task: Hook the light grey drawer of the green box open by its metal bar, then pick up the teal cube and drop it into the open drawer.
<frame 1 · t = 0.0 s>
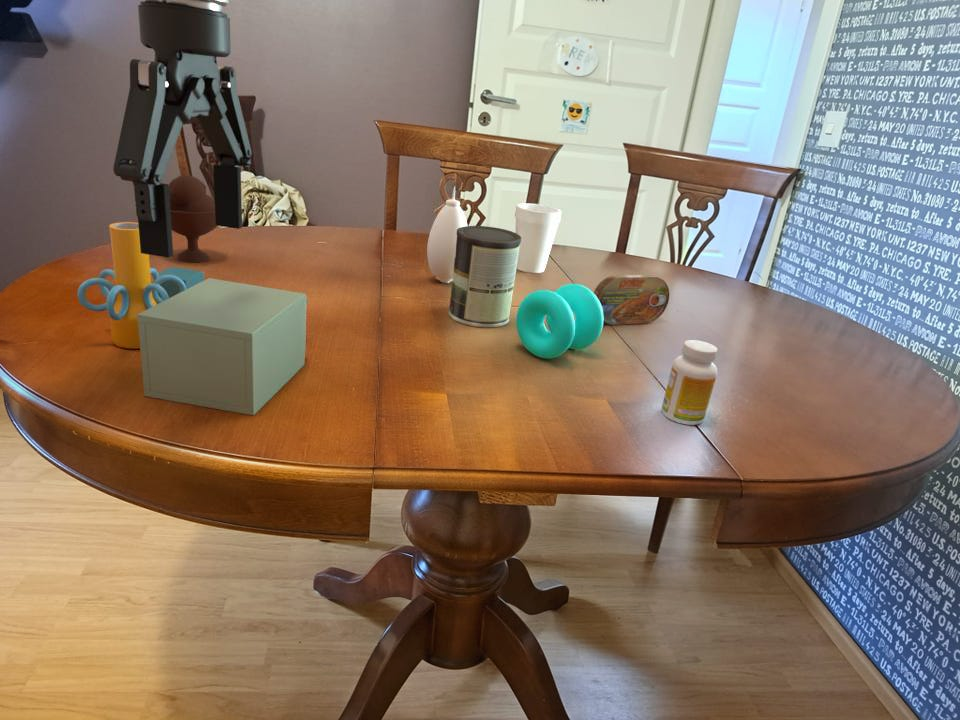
hand: (196, 239, 67), 18 cm above the table, tool pointing down, fingers open, 13 cm apart
cylinder: (138, 342, 86), on the table
donuts: (554, 352, 100), on the table
green box: (230, 379, 79), on the table
supplement bottle: (681, 417, 85), on the table
foam cup: (529, 269, 143), on the table
sauce bottle: (444, 282, 126), on the table
teal cube: (180, 305, 99), on the table
coffee can: (478, 318, 110), on the table
ice cream bowl: (193, 259, 121), on the table
tin: (625, 322, 117), on the table
light grey drawer: (250, 326, 82), point 5 cm above the table, slide at 0.5 cm
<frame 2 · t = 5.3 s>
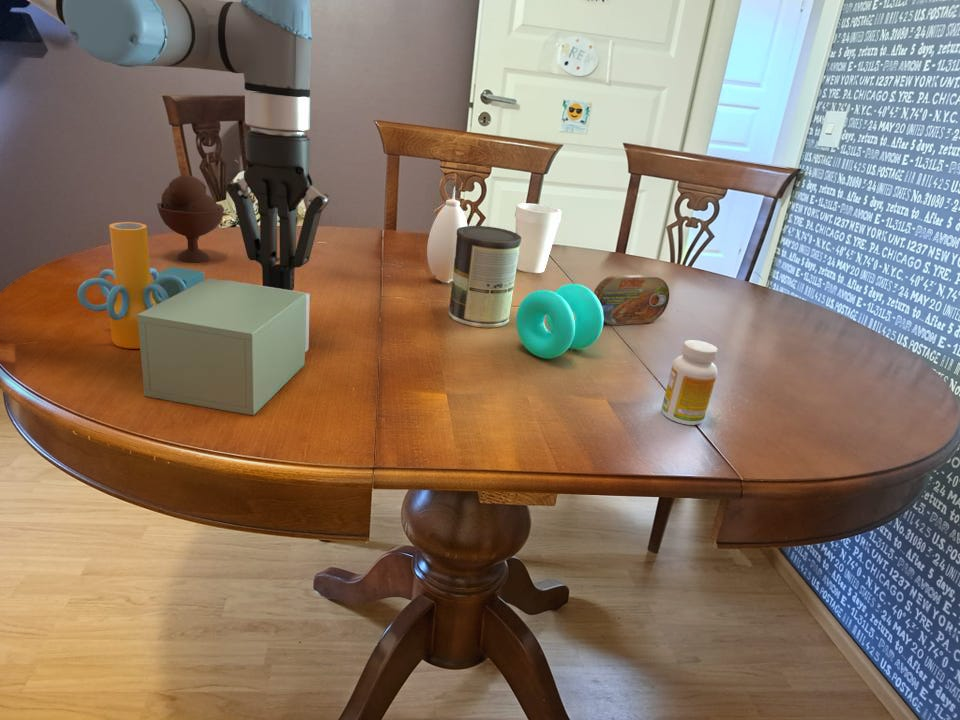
hand: (278, 313, 90), 4 cm above the table, tool pointing down, fingers closed
light grey drawer: (254, 324, 83), point 5 cm above the table, slide at 1.6 cm, touching gripper
everything else where it was.
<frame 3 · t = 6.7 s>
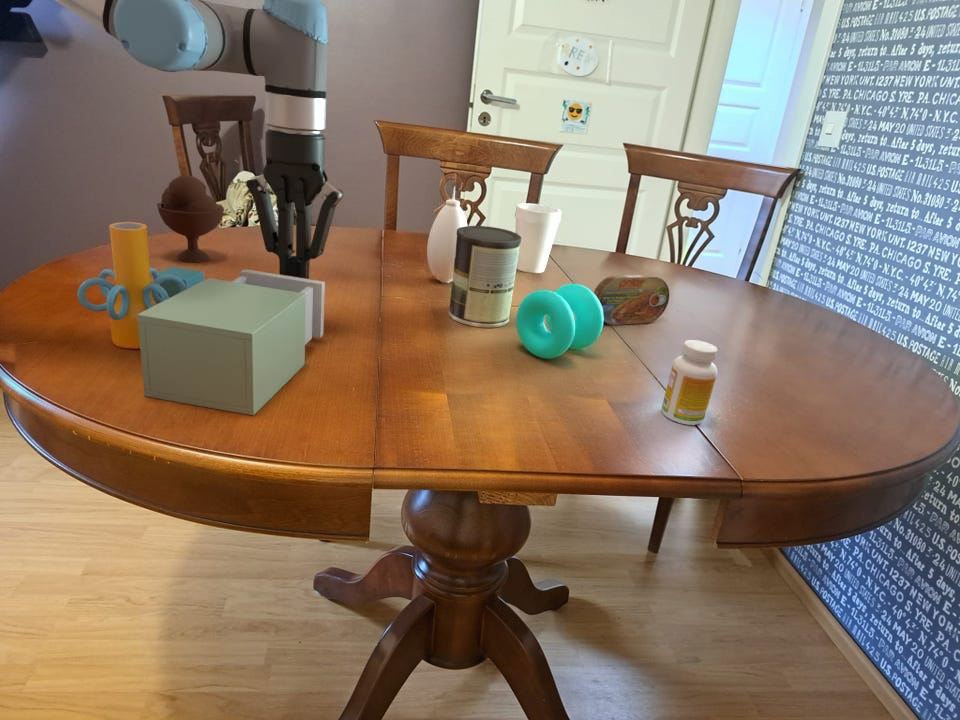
hand: (294, 302, 95), 4 cm above the table, tool pointing down, fingers closed
light grey drawer: (273, 310, 88), point 5 cm above the table, slide at 7.1 cm, touching gripper
everything else where it was.
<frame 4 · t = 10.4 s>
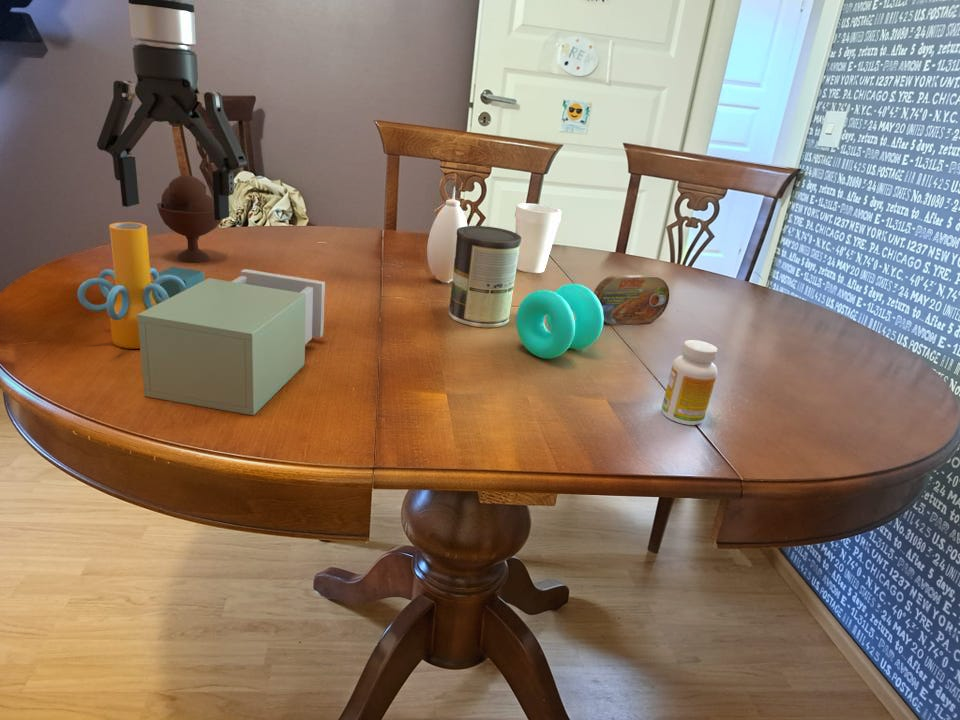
hand: (176, 211, 93), 14 cm above the table, tool pointing down, fingers open, 13 cm apart
light grey drawer: (273, 310, 88), point 5 cm above the table, slide at 7.2 cm
everything else where it was.
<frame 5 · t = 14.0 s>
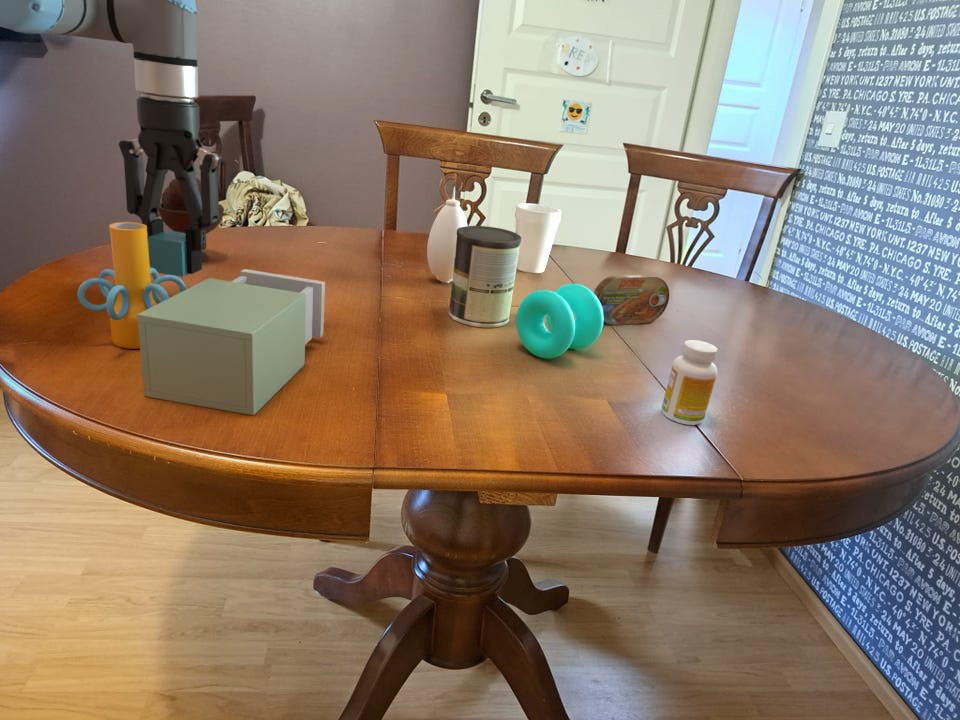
hand: (176, 267, 96), 6 cm above the table, tool pointing down, fingers closed on teal cube, 5 cm apart
teal cube: (176, 269, 97), point 5 cm above the table, touching gripper
everything else where it was.
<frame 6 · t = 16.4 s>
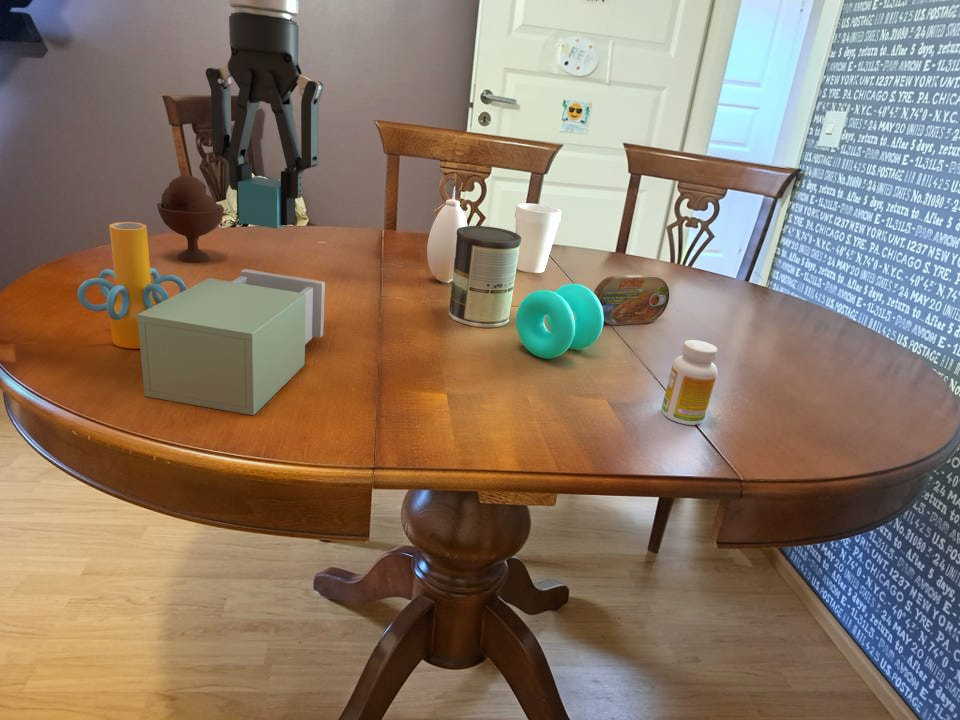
hand: (266, 219, 84), 17 cm above the table, tool pointing down, fingers closed on teal cube, 5 cm apart
teal cube: (266, 222, 84), point 16 cm above the table, touching gripper
everything else where it was.
when the fingers open (8 cm above the table, at t = 19.5 s): teal cube stays where it is, resting on light grey drawer.
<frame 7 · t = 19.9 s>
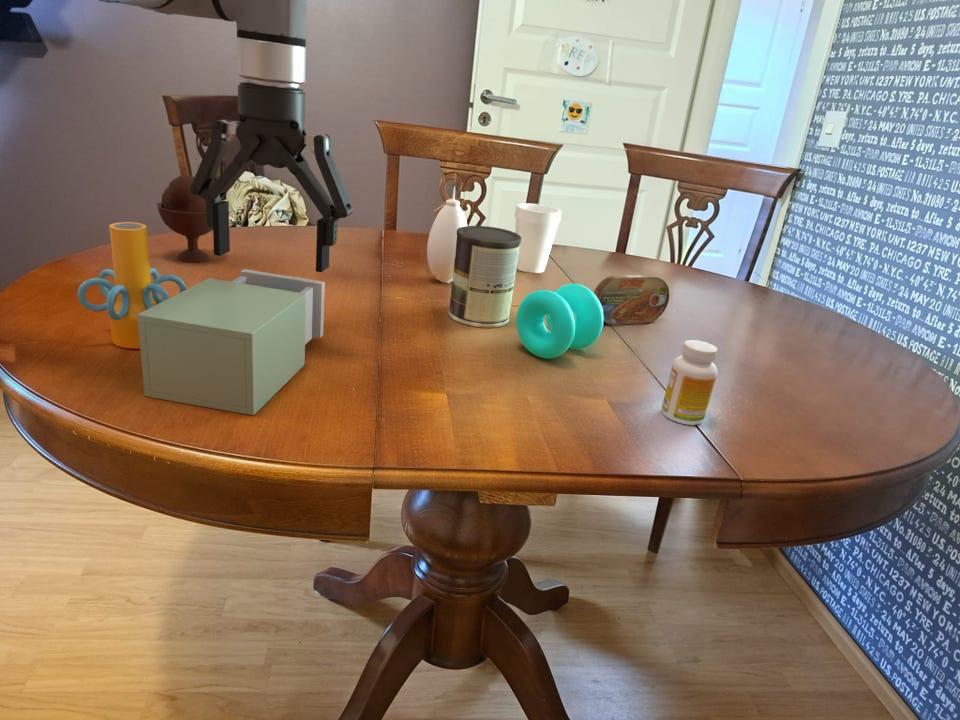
hand: (271, 261, 85), 12 cm above the table, tool pointing down, fingers open, 13 cm apart
teal cube: (272, 330, 89), point 2 cm above the table, touching light grey drawer
light grey drawer: (273, 310, 88), point 5 cm above the table, slide at 7.1 cm, touching teal cube
everything else where it was.
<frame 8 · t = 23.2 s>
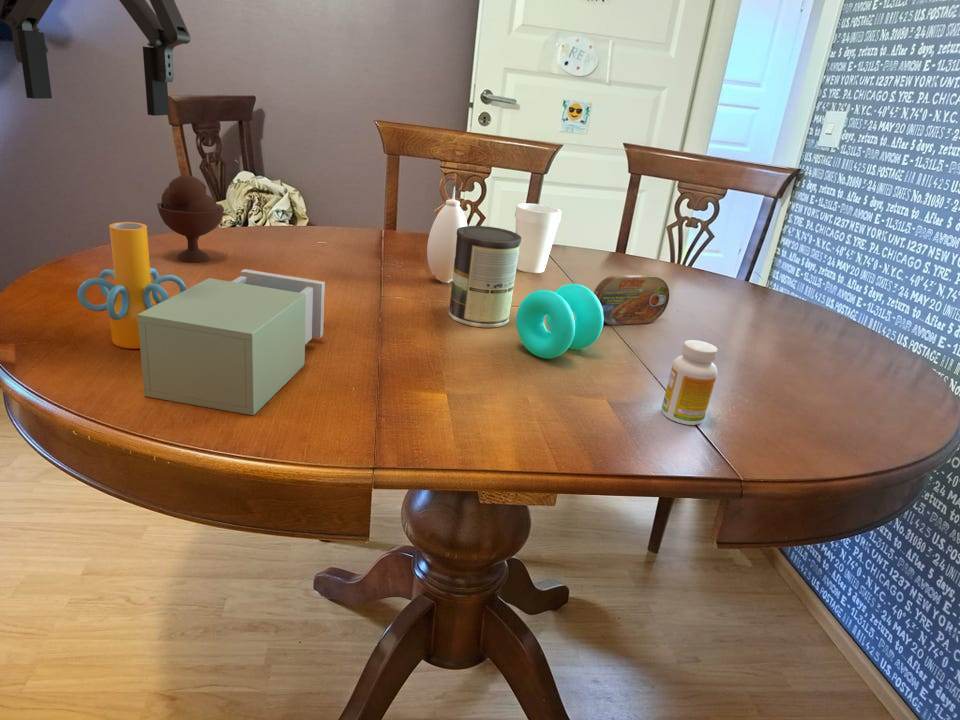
hand: (98, 106, 71), 29 cm above the table, tool pointing down, fingers open, 13 cm apart
nothing on the table moved.
at the end: light grey drawer slide at 7.1 cm; teal cube inside the target area in the light grey drawer (0.8 cm from its centre), point 2.0 cm above the green box's base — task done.
